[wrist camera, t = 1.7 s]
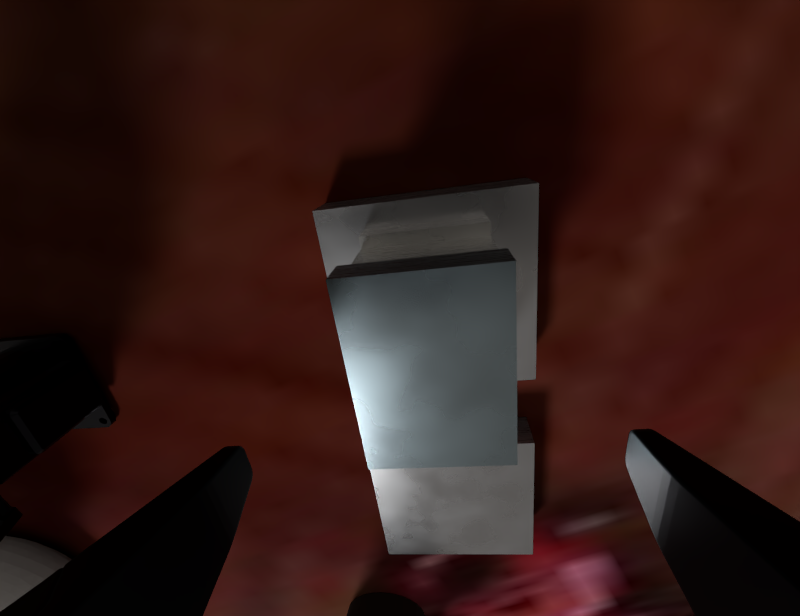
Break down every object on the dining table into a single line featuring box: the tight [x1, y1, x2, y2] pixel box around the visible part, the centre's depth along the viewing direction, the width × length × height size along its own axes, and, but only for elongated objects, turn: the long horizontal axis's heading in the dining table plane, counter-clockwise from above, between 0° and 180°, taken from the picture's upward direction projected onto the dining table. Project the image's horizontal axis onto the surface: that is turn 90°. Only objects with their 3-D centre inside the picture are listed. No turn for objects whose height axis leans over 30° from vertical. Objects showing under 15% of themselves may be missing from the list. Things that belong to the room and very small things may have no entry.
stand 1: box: [313, 178, 539, 380], centre depth 18 cm, size 9×9×2 cm
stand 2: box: [370, 417, 535, 554], centre depth 23 cm, size 9×9×2 cm
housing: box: [326, 216, 518, 469], centre depth 14 cm, size 5×7×6 cm
